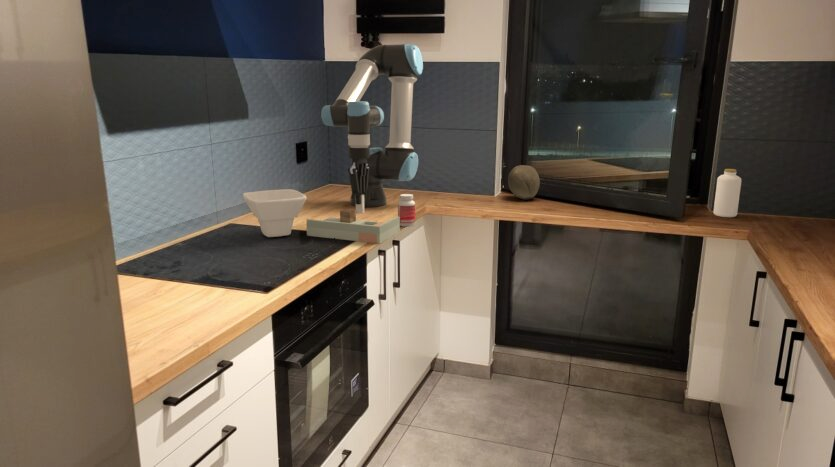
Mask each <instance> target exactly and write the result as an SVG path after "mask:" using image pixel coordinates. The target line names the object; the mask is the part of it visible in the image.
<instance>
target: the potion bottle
mask: <svg viewBox="0 0 835 467" xmlns="http://www.w3.org/2000/svg"><path fill="white" fill-rule="evenodd" d="M723 173H724V174H720V175H719V176H718V177H717V179H716V189H715V196H714V203H713V204H714V205H713V214H714V216H716V217H721V218H735V217H736V216H737V215H738V210H739V203H740V202H739V201H740V194H741V188H742V178H741V177H740V176H738V175H737V169H735V168H724V171H723Z"/></svg>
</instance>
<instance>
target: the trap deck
mask: <svg viewBox="0 0 835 467" xmlns="http://www.w3.org/2000/svg"><path fill="white" fill-rule="evenodd" d="M400 228H401V226H400V217H398V216H395V217H393V218H391V219H388V221H385V222H384V221H374V220H373V221H372V220H361V219H356V221H355V222H352V223H343V222H340V217H331V216H330V217H328V218H325V219H312V218H307V219H306V236H308V237H318V238H327V239H334V238H335V239H336V240H345V241H355V242H360V243H361V242H364V243H372V244H382V243H383V242H385V241H387V240H388V239H390V238H392V237H394V236H396V235H397V234H399V233H400V232H401V231H400Z"/></svg>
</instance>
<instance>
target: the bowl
mask: <svg viewBox="0 0 835 467" xmlns="http://www.w3.org/2000/svg"><path fill="white" fill-rule="evenodd" d="M242 198H243V199H244V201H245V203H246V204H247V206H248V208H249V210H250V211H251V213H252V215H253V216H254V217H255V218H256V219H257V221H258V223H259V227H260V230H261V232H262V233H261V234H263V235H264V236H265V237H267V238H274V237H283V236H285V237H286V236H289V235H291V233H292V228H293V225H294V220H295V218H297V217H298V216H299V214H300V213H301V211H302V209H303V207H304V205H305V202H306V201H307V195H306V194H304V193H302V192H300V191H299V190H296V189H292V188H291V189H290V188H287V189H286V188H285V189H283V188H282V189H272V190H271V189H268V190H267V189H266V190H260V191H259V190H258V191H250V192H249V191H248V192H243V194H242Z"/></svg>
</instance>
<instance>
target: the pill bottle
mask: <svg viewBox="0 0 835 467" xmlns="http://www.w3.org/2000/svg"><path fill="white" fill-rule="evenodd" d="M399 199H400V200H399V201H398V202H397V217H400V227H406V228H407V227H408V228H409V227H414V226H415V225H416V202H415V201H414V194H411V193H402V194H400V195H399Z"/></svg>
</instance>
